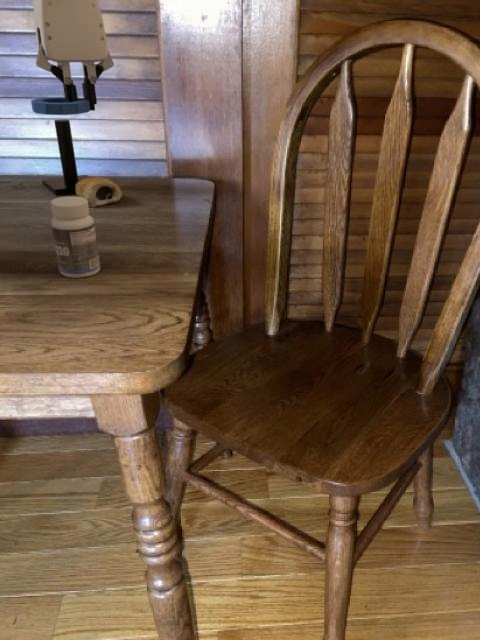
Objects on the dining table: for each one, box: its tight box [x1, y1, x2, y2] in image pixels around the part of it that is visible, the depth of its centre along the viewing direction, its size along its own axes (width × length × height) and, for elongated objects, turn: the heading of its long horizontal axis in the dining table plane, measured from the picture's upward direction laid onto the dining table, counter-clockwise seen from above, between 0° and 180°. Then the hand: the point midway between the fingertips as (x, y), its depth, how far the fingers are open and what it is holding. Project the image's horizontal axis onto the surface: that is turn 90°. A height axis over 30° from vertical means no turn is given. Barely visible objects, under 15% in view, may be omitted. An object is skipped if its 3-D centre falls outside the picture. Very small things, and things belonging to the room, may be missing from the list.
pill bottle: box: [50, 195, 101, 279], centre depth 66 cm, size 5×5×8 cm
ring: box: [30, 96, 91, 116], centre depth 94 cm, size 9×9×2 cm
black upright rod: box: [41, 118, 92, 196], centre depth 98 cm, size 8×8×11 cm
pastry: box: [75, 176, 123, 208], centre depth 94 cm, size 9×7×4 cm
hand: (82, 109), depth 96 cm, fingers closed on ring, 2 cm apart
